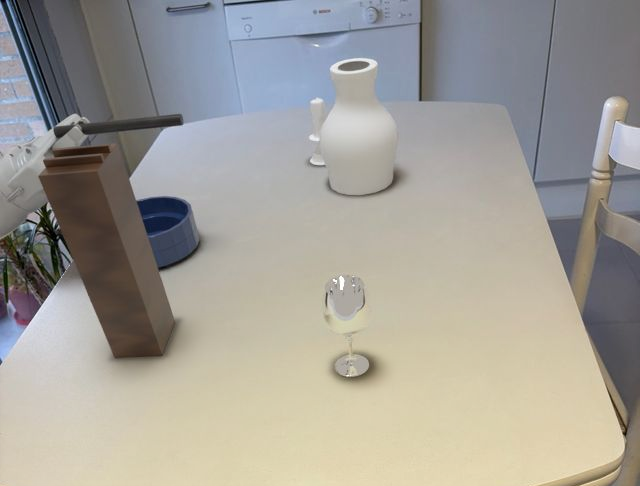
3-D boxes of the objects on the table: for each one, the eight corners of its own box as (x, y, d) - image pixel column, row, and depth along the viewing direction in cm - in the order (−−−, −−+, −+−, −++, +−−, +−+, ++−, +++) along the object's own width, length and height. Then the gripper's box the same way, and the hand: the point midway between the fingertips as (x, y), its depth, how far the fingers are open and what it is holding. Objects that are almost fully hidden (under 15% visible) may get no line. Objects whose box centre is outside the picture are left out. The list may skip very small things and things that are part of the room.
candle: (314, 154, 134) (307, 92, 125) (339, 154, 132) (333, 92, 124) (306, 165, 130) (299, 102, 122) (332, 166, 129) (326, 102, 120)
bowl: (101, 275, 108) (88, 242, 103) (127, 230, 118) (116, 199, 114) (189, 270, 106) (180, 236, 101) (207, 225, 116) (199, 193, 112)
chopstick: (55, 139, 99) (52, 128, 98) (59, 136, 100) (56, 125, 99) (181, 126, 96) (179, 115, 95) (184, 123, 98) (181, 112, 97)
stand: (114, 357, 91) (34, 168, 72) (130, 324, 96) (60, 140, 78) (162, 355, 90) (94, 163, 71) (175, 321, 95) (115, 135, 77)
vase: (313, 176, 126) (299, 64, 112) (379, 158, 129) (374, 46, 115) (340, 205, 116) (329, 85, 102) (412, 184, 119) (411, 65, 105)
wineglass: (382, 359, 84) (378, 278, 75) (359, 385, 81) (352, 304, 72) (344, 347, 86) (336, 268, 78) (321, 372, 83) (310, 292, 75)
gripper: (-16, 189, 95) (41, 135, 89) (36, 135, 110) (88, 85, 104) (20, 222, 99) (78, 172, 93) (66, 166, 113) (118, 119, 107)
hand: (84, 126), depth 98 cm, fingers closed on chopstick, 2 cm apart
